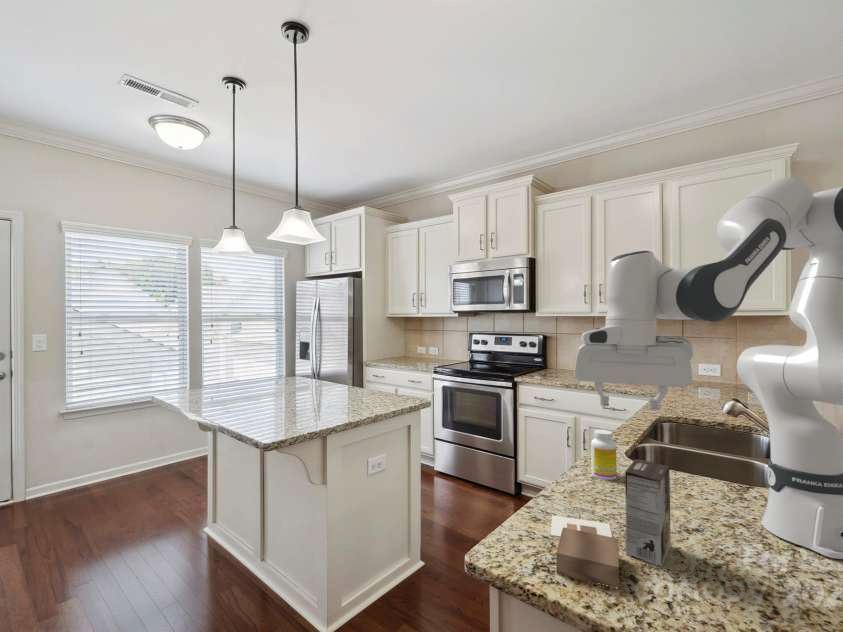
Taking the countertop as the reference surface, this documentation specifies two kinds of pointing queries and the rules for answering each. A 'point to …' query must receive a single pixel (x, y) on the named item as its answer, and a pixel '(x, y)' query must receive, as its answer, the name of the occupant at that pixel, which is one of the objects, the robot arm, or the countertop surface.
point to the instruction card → (578, 526)
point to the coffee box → (648, 511)
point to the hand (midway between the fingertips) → (629, 407)
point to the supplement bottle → (603, 455)
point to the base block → (588, 557)
